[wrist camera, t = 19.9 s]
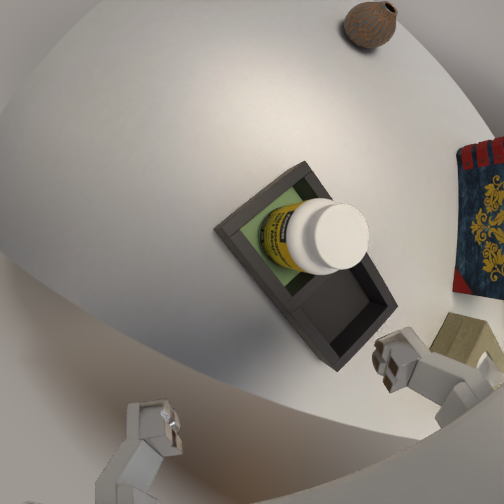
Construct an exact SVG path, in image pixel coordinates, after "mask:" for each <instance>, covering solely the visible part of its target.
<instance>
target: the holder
mask: <svg viewBox="0 0 504 504" xmlns="http://www.w3.org/2000/svg"><path fill="white" fill-rule="evenodd" d="M316 198H324V199H330V200H332V198H331V197H330V195H329V194H328V192H327V191H326V189H325V188H324V187H323V185H322V184H321V182H320V181H319V179H318V178H317V177H316V175H315V174H314V172H313V171H312V170H311V168H310V167H309V165H308V164H307V163H306V161H303V162H301V163H299V164H297V165H296V166H294V167H292V168H290V169H288V170H287V171H286V172H284V173H283V174H282V175H280V176H279V177H278V178H277V179H275V180H274V181H273V182H271V183H270V184H269V185H268V186H266V187H265V188H264V189H262V190H261V191H260V192H259V193H257V194H256V195H255V196H254V197H252V198H251V199H250V200H249V201H247V202H246V203H245V204H243V205H242V206H241V207H240V208H238V209H237V210H236V211H235V212H233V213H232V214H231V215H230V216H229V217H227V218H226V219H225V220H224V221H222V222H221V223H220V224H219V225H217V226H216V227H215V228H214V230H215V231H216V233H217V234H218V235H219V236H220V238H221V239H222V240H223V241H224V243H225V244H226V245H227V246H228V248H229V249H230V250H231V251H232V253H233V254H234V255H235V256H236V258H237V259H238V260H239V261H240V263H241V264H242V265H243V266H244V267H245V269H246V270H247V271H248V272H249V274H250V275H251V276H252V277H253V279H254V280H255V281H256V282H257V284H258V285H259V286H260V287H261V288H262V290H263V291H264V292H265V293H266V295H267V296H268V297H269V298H270V300H271V301H272V302H273V303H274V304H275V306H276V307H277V308H278V309H279V311H280V312H281V313H282V314H283V315H284V317H285V318H286V319H287V320H288V322H289V323H290V324H291V325H292V326H293V328H294V329H295V330H296V331H297V332H298V334H299V335H300V336H301V337H302V338H303V340H304V341H305V342H306V343H307V345H308V346H309V347H310V348H311V349H312V351H313V352H314V353H315V354H316V355H317V357H318V358H319V359H320V360H321V361H323V362H324V363H325V364H327V365H328V366H330V367H331V368H332V369H334V370H335V371H337V372H338V371H339V370H340V369H341V368H342V367H343V366H344V365H345V364H346V363H347V362H348V361H349V360H350V359H351V358H352V357H353V356H354V355H355V354H356V353H357V352H358V351H359V350H360V349H361V348H362V347H363V346H364V344H365V343H366V342H367V341H368V340H369V339H370V338H371V337H372V336H373V335H374V334H375V332H376V331H377V330H378V329H379V328H380V327H381V326H382V325H383V323H384V322H385V321H386V320H387V319H388V318H389V317H390V315H391V314H392V313H393V312H394V311H395V309H396V308H397V307H398V305H397V303H396V302H395V300H394V298H393V296H392V294H391V293H390V291H389V289H388V287H387V286H386V284H385V282H384V280H383V279H382V277H381V275H380V274H379V272H378V270H377V269H376V267H375V265H374V264H373V262H372V260H371V259H370V257H369V255H368V254H367V252H366V253H365V255H364V257H363V258H362V260H361V261H360V262H359V263H358V264H356V265H355V266H353V267H351V268H348V269H339V270H338V271H336V272H334V273H331V274H327V275H314V274H309V273H306V272H302V271H298V270H294V269H290V268H285V267H282V266H279V265H276V264H274V263H273V262H271V261H270V260H269V259H268V258H267V257H266V256H265V255H264V253H263V252H262V250H261V247H260V244H259V229H260V226H261V223H262V221H263V220H264V218H265V217H266V216H267V214H269V213H270V212H271V211H273V210H274V209H276V208H279V207H282V206H286V205H290V204H294V203H298V202H302V201H306V200H310V199H316Z"/></svg>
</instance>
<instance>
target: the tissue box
mask: <svg viewBox="0 0 504 504" xmlns="http://www.w3.org/2000/svg"><path fill="white" fill-rule="evenodd" d="M429 351H430V352H431V353H432V352H436V353H439V354H441V355H444V356H446V357H449V358H451V359H453V360H456V361H458V362H461V363H463V364H466V365H469V366H471V367H474V368H476V369H478V370H479V371H480V372H481V373H482V375H483V376H484V377H485V379H486V380H487V381H488V382H489V384H490V385H491V386H492V388H493V389H494V390H496V389H497V388H498V386H499V384H501V385H502V384H503V383H504V354H503V352H502V350H501V348H500V346H499V344H498V342H497V340H496V338H495V336H494V334H493V332H492V330H491V329H490V327H489V325H488V323H487V321H484V320H479V319H475V318H471V317H467V316H463V315H458V314H454V313H449V314H448V316H447V318H446V320H445V322H444V324H443V326H442V328H441V330H440V332H439V334H438V335H437V337H436V339H435V341H434V343H433V345H432V346H431V348H430V350H429Z"/></svg>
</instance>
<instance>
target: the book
mask: <svg viewBox="0 0 504 504" xmlns="http://www.w3.org/2000/svg"><path fill="white" fill-rule="evenodd" d="M456 156H457V161H458V177H459V226H458V245H457V258H456V267H455V275H454V283H453V292H458V293H464V294H470V295H476V296H482V297H488V298H494V299H500V300H504V137H499V138H495V139H494V140H487V141H483V142H479V143H478V144H471V145H467V146H464V147H463V148H461V149H459V150H458V152H457V155H456Z"/></svg>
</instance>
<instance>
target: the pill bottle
mask: <svg viewBox="0 0 504 504" xmlns="http://www.w3.org/2000/svg"><path fill="white" fill-rule="evenodd" d="M259 244H260V247H261V250H262V252H263V253H264V255H265V256H266V257H267V258H268V259H269V260H270V261H271V262H273V263H274V264H276V265H279V266H282V267H285V268H290V269H294V270H298V271H302V272H306V273H309V274H314V275H327V274H331V273H334V272H336V271H338V270H339V269H348V268H351V267H353V266H355V265H356V264H358V263H359V262H360V261H361V260H362V258H363V257H364V255H365V253H366V251H367V248H368V244H369V230H368V225H367V223H366V220H365V218H364V217H363V215H362V214H361V213H360V212H359V211H358V210H357V209H356V208H355V207H353V206H351V205H348V204H339V203H337V202H335V201H333V200H330V199H324V198H316V199H310V200H306V201H302V202H298V203H294V204H290V205H286V206H282V207H279V208H276V209H274V210H273V211H271V212H270V213H269V214H267V216H266V217H265V218H264V220H263V221H262V223H261V226H260V229H259Z"/></svg>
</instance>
